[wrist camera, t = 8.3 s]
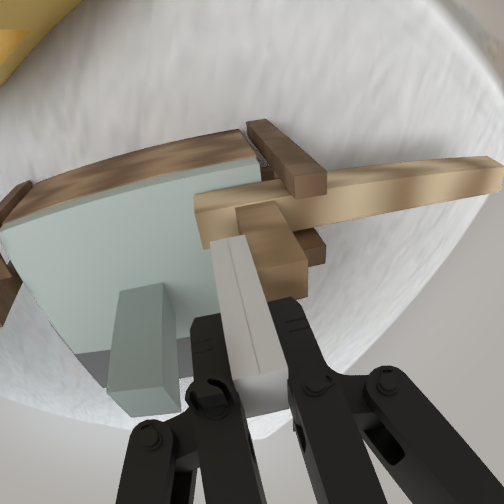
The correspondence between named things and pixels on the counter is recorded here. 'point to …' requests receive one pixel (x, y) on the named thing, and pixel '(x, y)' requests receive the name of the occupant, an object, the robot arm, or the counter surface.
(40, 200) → the wooden rack
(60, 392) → the counter surface
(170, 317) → the lid
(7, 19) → the yellow clevis bracket
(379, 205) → the key
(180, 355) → the mat
